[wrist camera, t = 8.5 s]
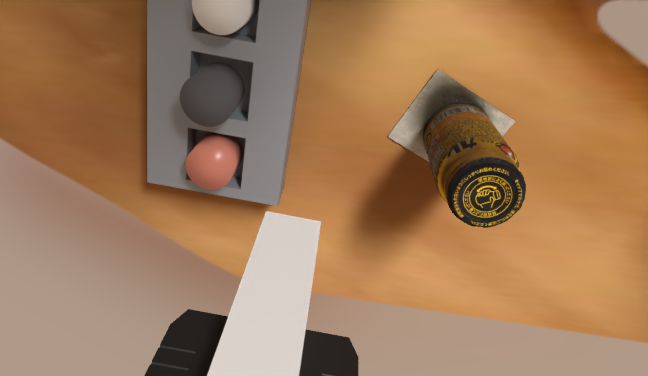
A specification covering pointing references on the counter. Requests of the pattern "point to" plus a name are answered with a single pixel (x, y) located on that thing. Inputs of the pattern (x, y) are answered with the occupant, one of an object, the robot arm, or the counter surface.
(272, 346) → the robot arm
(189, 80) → the black button
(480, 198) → the condiment
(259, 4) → the button board
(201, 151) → the red button
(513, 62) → the counter surface
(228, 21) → the white button
